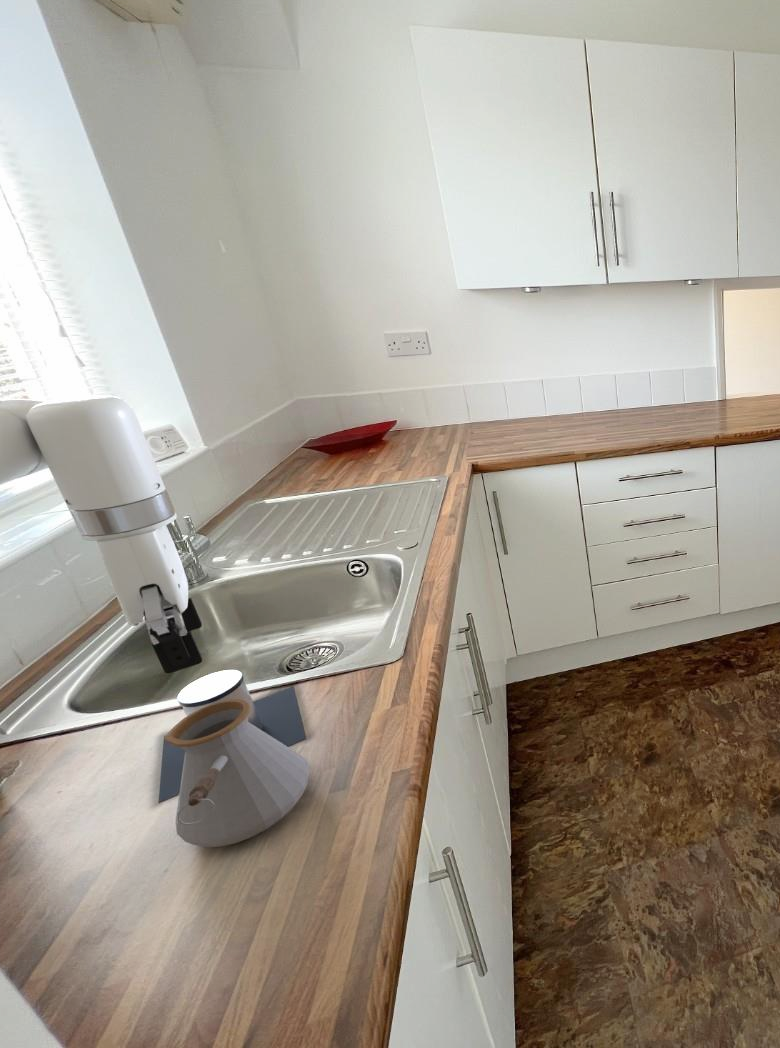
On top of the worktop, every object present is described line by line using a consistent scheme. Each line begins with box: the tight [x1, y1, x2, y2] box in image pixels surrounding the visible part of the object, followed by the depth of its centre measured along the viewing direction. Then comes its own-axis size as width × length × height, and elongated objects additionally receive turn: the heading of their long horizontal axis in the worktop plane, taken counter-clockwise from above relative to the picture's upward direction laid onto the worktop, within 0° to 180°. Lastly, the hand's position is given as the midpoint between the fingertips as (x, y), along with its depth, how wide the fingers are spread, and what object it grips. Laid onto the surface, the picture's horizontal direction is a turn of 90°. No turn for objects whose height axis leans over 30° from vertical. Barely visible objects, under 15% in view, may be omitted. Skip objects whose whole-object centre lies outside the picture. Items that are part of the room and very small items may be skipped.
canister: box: [176, 669, 263, 730], centre depth 72 cm, size 6×6×8 cm
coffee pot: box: [163, 699, 311, 848], centre depth 57 cm, size 21×12×15 cm, turn 37°
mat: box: [158, 685, 307, 804], centre depth 74 cm, size 14×14×1 cm
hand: (185, 648), depth 69 cm, fingers open, 9 cm apart
